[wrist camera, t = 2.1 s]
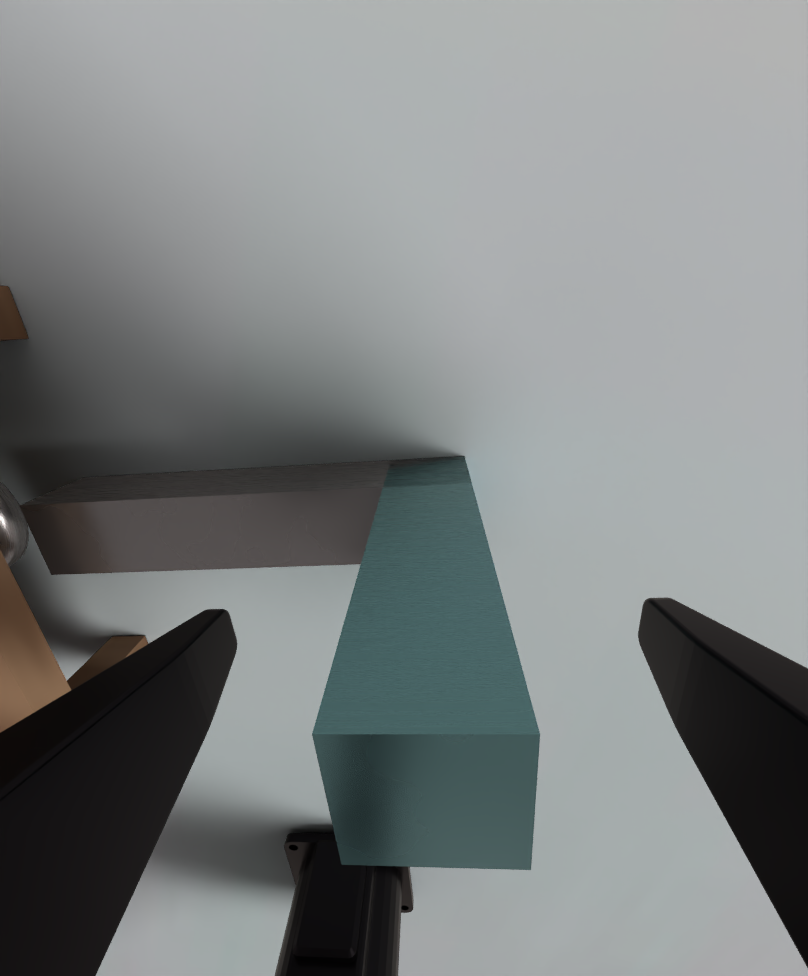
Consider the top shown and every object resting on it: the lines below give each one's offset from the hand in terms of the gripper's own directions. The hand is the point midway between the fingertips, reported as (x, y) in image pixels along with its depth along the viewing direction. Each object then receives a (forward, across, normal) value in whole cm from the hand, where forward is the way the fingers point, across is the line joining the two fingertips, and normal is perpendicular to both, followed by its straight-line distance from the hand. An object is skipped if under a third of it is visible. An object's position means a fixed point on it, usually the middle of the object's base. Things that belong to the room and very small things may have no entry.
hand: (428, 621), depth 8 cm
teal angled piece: (+7, +6, 0) cm, 9 cm away
